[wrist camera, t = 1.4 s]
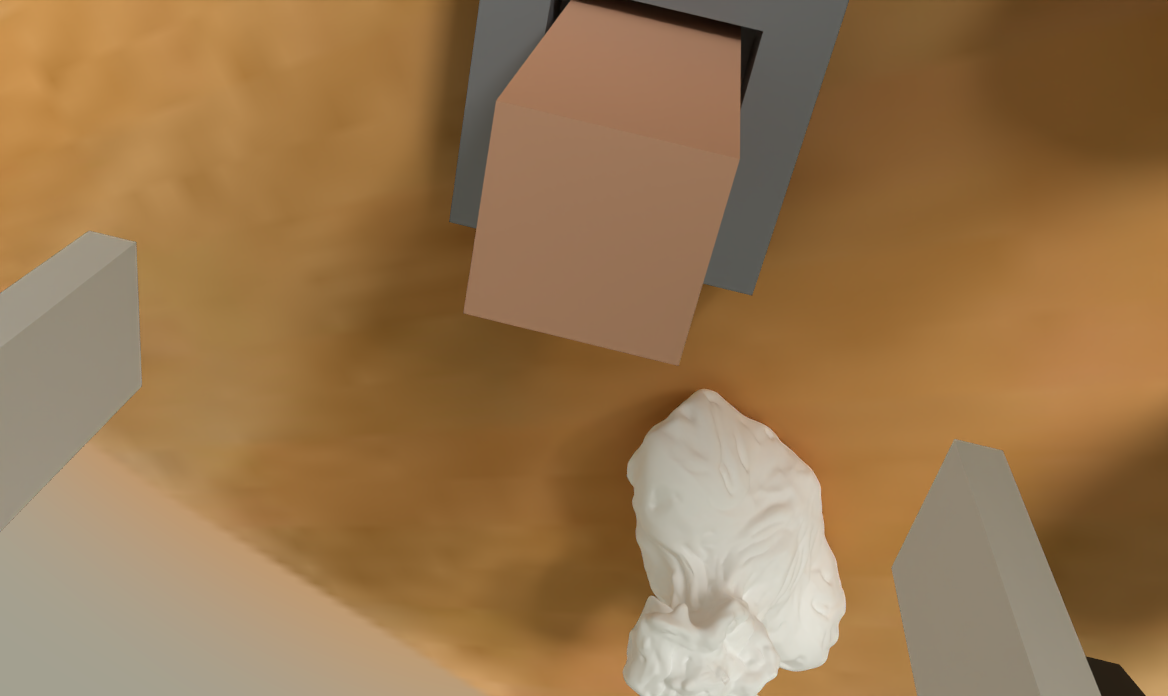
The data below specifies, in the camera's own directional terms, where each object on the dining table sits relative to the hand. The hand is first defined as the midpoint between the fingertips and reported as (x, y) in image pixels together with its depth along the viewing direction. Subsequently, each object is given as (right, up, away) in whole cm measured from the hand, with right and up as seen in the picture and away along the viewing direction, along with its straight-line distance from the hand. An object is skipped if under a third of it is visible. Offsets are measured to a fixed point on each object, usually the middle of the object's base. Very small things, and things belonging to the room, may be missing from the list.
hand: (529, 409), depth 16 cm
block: (+3, +9, +15) cm, 18 cm away
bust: (+7, -5, +24) cm, 25 cm away
